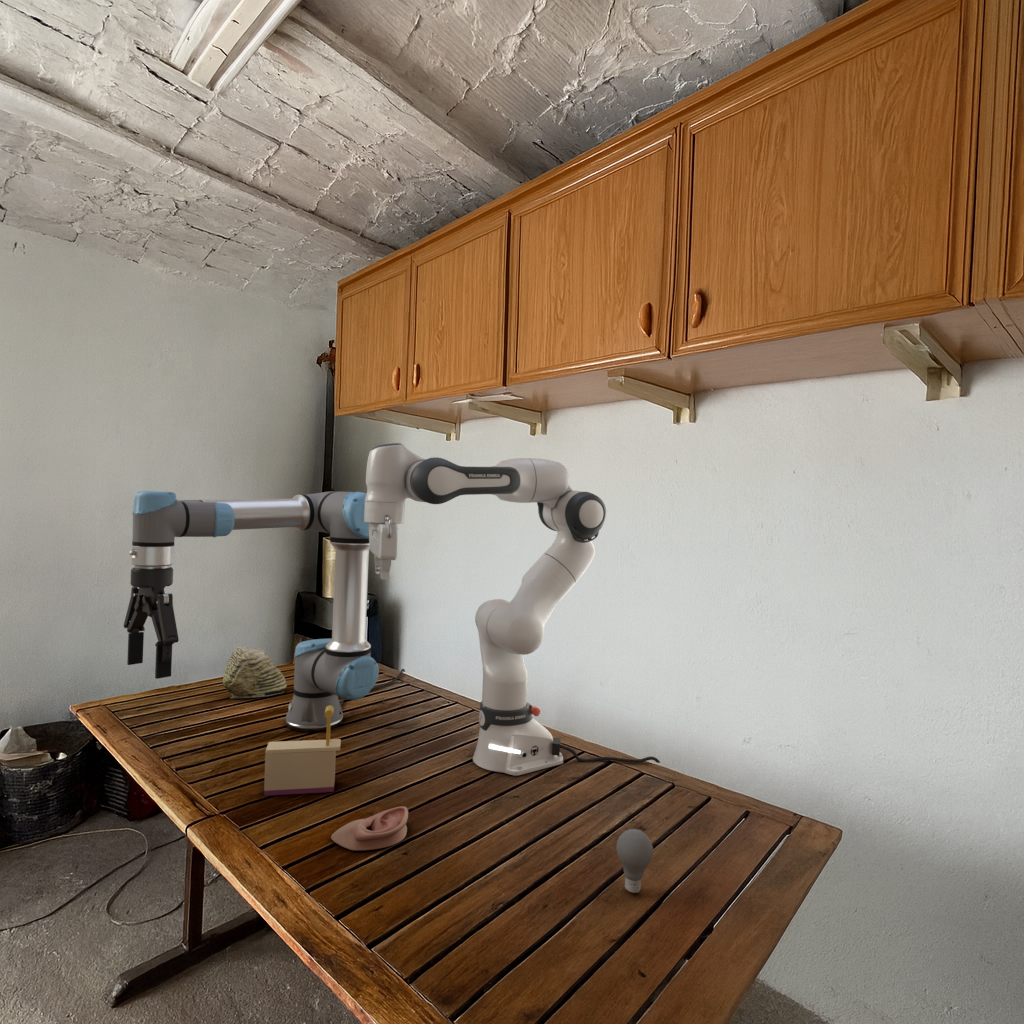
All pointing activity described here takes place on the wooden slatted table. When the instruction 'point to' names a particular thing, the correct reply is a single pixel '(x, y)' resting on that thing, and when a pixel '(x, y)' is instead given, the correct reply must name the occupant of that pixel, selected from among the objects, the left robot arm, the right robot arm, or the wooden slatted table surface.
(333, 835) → the anatomical model
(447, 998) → the wooden slatted table surface
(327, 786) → the purple-based tan box
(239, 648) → the fossil
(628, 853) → the light bulb
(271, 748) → the lid
